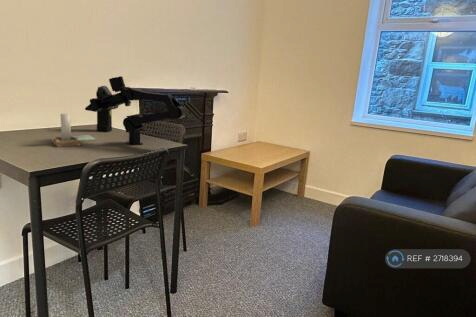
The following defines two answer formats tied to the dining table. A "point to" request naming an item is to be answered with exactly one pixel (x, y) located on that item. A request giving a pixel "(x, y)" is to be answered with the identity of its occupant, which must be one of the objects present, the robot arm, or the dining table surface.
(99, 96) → the portable radio
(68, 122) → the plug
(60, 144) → the brown wooden square tray
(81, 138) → the pad
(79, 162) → the dining table surface
